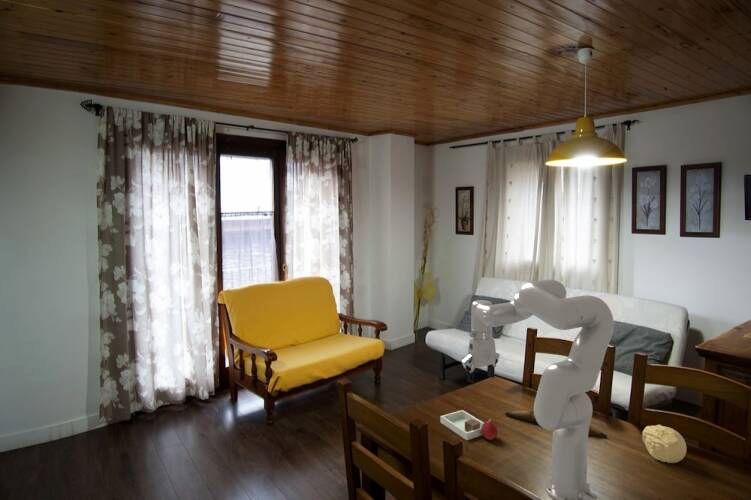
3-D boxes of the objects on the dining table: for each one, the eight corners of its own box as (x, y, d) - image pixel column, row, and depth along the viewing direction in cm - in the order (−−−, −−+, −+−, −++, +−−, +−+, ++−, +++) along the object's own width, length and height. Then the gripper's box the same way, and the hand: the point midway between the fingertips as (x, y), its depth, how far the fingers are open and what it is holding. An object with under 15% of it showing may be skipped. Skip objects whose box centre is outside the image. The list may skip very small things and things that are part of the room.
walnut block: (479, 432, 170) (480, 422, 170) (473, 436, 168) (473, 425, 168) (471, 428, 174) (471, 418, 173) (464, 432, 171) (464, 421, 171)
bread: (502, 418, 184) (502, 406, 184) (505, 413, 189) (506, 401, 188) (607, 442, 165) (607, 428, 164) (608, 436, 169) (608, 423, 168)
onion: (479, 442, 165) (479, 421, 164) (483, 435, 170) (483, 414, 170) (495, 445, 162) (495, 424, 162) (499, 438, 168) (499, 417, 167)
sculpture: (636, 452, 157) (637, 422, 156) (661, 446, 161) (662, 416, 160) (667, 470, 146) (669, 438, 145) (693, 462, 150) (695, 431, 149)
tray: (489, 434, 170) (489, 426, 170) (466, 442, 165) (466, 433, 165) (462, 417, 184) (462, 409, 184) (440, 424, 179) (440, 416, 179)
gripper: (469, 340, 159) (469, 387, 161) (506, 333, 167) (505, 378, 169) (456, 335, 165) (455, 380, 167) (492, 328, 174) (491, 371, 175)
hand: (480, 379), depth 168 cm, fingers open, 9 cm apart
